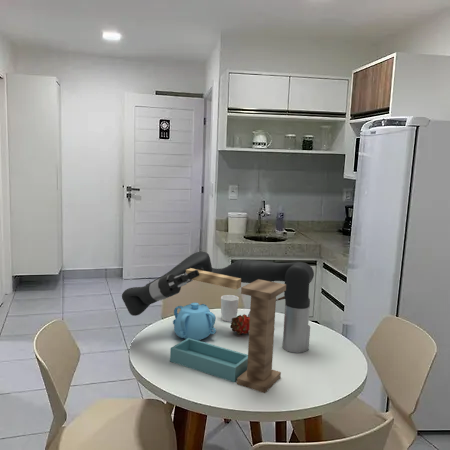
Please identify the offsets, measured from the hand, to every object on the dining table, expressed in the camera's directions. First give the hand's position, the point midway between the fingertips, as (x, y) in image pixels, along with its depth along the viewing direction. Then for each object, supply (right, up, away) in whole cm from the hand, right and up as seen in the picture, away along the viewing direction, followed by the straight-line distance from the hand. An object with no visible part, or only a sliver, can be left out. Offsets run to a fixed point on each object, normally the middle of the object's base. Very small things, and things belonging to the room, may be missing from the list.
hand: (200, 271), depth 154 cm
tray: (+3, -33, +2) cm, 33 cm away
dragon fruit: (+15, -29, +33) cm, 46 cm away
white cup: (+10, -26, +48) cm, 55 cm away
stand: (+19, -35, -7) cm, 41 cm away
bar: (+4, -4, -2) cm, 6 cm away
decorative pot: (-4, -29, +28) cm, 40 cm away
